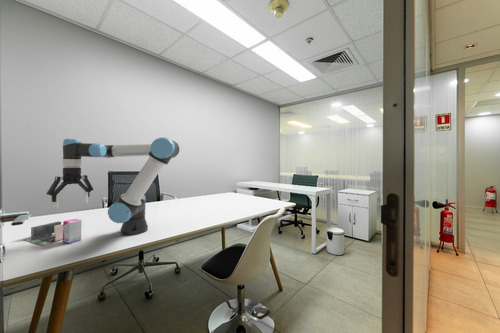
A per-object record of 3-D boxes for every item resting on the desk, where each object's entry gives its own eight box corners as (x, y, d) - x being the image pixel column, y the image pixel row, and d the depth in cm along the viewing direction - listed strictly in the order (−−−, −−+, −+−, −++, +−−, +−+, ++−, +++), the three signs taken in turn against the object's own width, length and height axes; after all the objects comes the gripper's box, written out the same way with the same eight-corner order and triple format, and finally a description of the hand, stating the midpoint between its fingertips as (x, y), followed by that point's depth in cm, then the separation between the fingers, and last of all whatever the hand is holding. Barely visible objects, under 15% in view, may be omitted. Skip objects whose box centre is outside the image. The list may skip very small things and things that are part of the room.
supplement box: (81, 240, 109) (82, 219, 109) (69, 244, 103) (69, 222, 103) (74, 238, 111) (75, 218, 110) (62, 242, 105) (62, 221, 105)
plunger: (73, 235, 113) (73, 222, 113) (42, 244, 100) (42, 229, 100) (64, 233, 115) (64, 220, 115) (33, 242, 103) (33, 227, 103)
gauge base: (78, 235, 115) (78, 225, 115) (43, 245, 100) (43, 234, 100) (58, 231, 121) (58, 221, 121) (23, 240, 106) (23, 229, 106)
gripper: (92, 166, 121) (92, 200, 121) (37, 167, 98) (37, 209, 98) (100, 167, 118) (100, 202, 119) (46, 167, 95) (45, 211, 96)
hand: (71, 205), depth 108 cm, fingers open, 13 cm apart
